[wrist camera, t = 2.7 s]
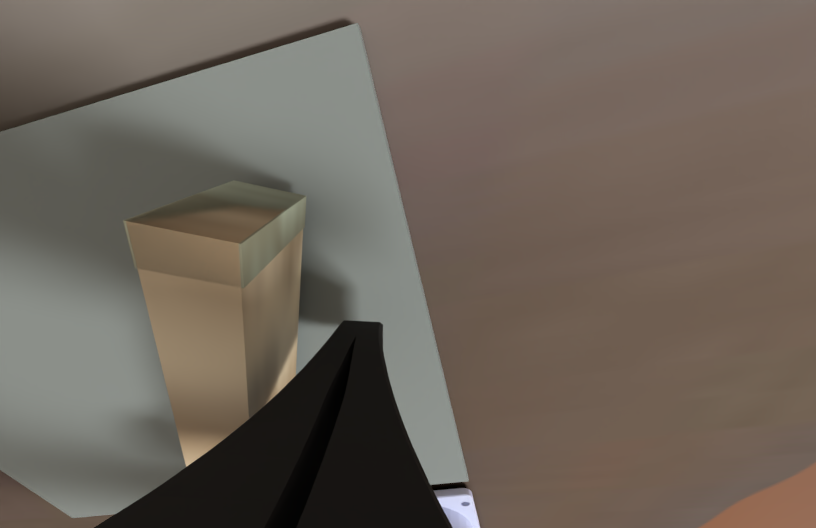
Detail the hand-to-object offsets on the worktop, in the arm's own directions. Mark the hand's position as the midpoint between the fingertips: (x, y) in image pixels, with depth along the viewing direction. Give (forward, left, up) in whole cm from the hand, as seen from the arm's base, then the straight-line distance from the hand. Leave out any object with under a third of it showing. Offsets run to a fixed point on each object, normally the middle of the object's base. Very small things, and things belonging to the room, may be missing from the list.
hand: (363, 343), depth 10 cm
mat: (-2, +11, -2) cm, 12 cm away
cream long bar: (0, +4, -1) cm, 4 cm away
